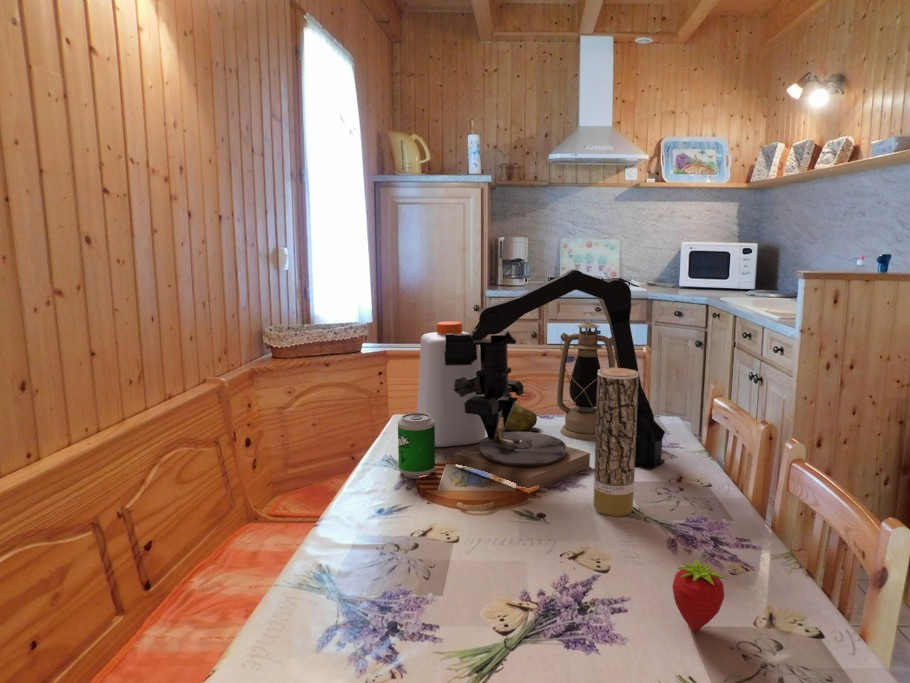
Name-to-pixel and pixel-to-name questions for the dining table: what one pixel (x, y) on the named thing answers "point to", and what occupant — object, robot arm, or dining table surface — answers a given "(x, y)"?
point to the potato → (521, 419)
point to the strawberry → (698, 594)
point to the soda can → (416, 444)
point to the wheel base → (527, 475)
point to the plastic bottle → (446, 390)
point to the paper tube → (615, 440)
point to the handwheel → (522, 448)
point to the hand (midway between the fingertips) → (496, 435)
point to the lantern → (582, 381)
